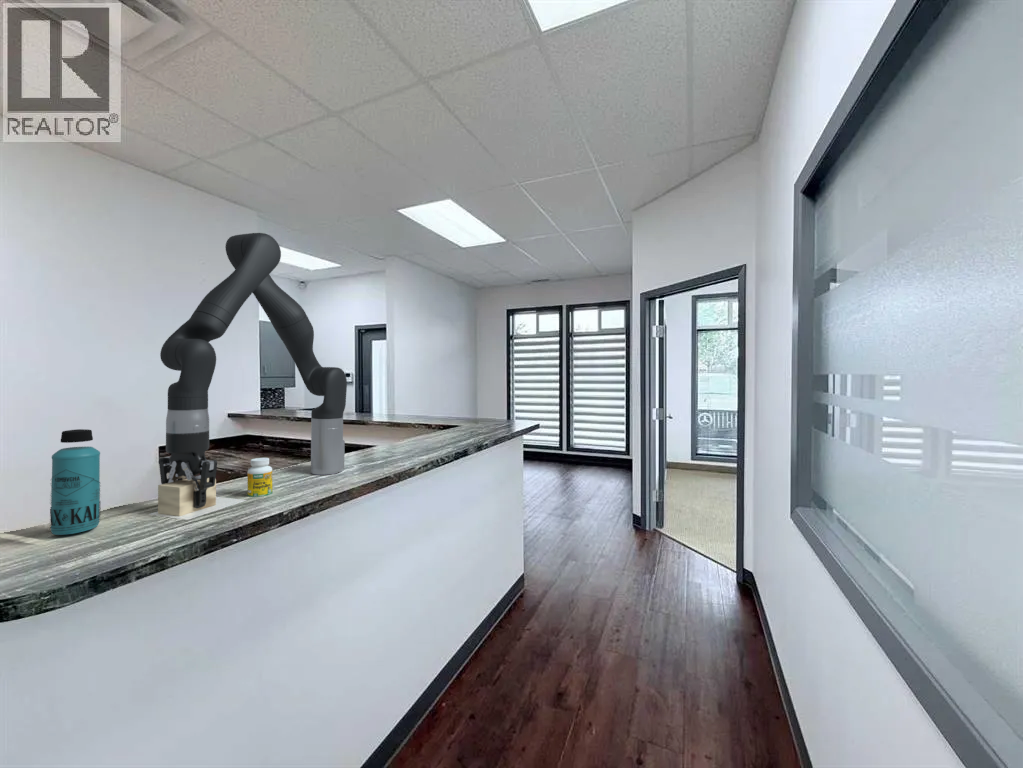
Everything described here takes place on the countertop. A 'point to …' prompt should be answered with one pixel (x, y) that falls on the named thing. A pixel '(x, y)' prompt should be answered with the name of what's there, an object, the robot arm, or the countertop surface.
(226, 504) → the board
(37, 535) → the countertop surface
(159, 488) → the block
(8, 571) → the countertop surface
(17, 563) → the countertop surface
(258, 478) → the supplement bottle
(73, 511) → the beverage bottle
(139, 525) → the countertop surface
